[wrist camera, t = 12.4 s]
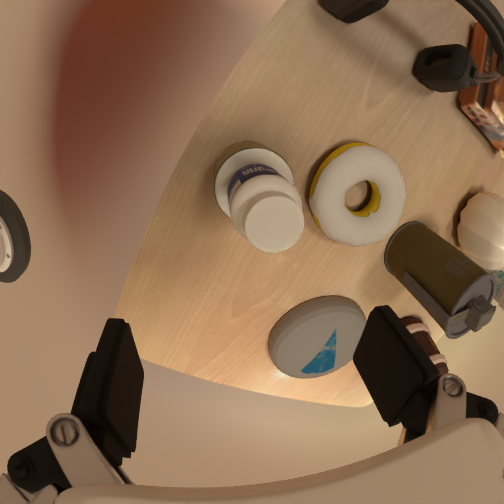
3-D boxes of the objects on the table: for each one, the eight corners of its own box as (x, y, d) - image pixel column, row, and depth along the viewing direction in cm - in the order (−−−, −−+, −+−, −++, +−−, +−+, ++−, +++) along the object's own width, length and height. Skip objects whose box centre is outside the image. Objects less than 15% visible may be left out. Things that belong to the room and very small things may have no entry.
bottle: (461, 269, 47) (519, 324, 29) (477, 246, 45) (538, 295, 27) (469, 280, 49) (521, 331, 31) (484, 258, 47) (539, 305, 29)
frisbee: (377, 295, 45) (390, 312, 41) (343, 364, 53) (351, 381, 49) (279, 294, 42) (287, 314, 37) (259, 370, 50) (264, 390, 45)
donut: (405, 195, 37) (424, 206, 33) (342, 255, 40) (357, 272, 36) (358, 122, 31) (378, 124, 27) (283, 189, 34) (294, 201, 30)
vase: (454, 188, 37) (509, 216, 26) (491, 185, 38) (538, 209, 26) (443, 256, 44) (487, 293, 32) (481, 245, 45) (520, 275, 33)
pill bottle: (288, 169, 26) (326, 197, 17) (272, 219, 28) (299, 267, 19) (234, 155, 25) (245, 175, 16) (220, 208, 27) (224, 254, 18)
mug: (430, 326, 53) (464, 368, 40) (387, 368, 58) (412, 413, 45) (394, 295, 46) (437, 349, 33) (340, 349, 51) (369, 408, 37)
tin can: (201, 184, 33) (198, 201, 26) (236, 129, 30) (243, 131, 24) (255, 215, 36) (265, 239, 29) (290, 164, 33) (310, 176, 26)
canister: (433, 217, 39) (516, 276, 22) (424, 268, 44) (491, 335, 27) (384, 225, 39) (472, 300, 21) (378, 281, 44) (444, 363, 26)
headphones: (442, 68, 27) (543, 75, 10) (432, 96, 30) (539, 112, 12) (329, -20, 21) (412, -84, 3) (312, 6, 23) (399, -63, 5)
